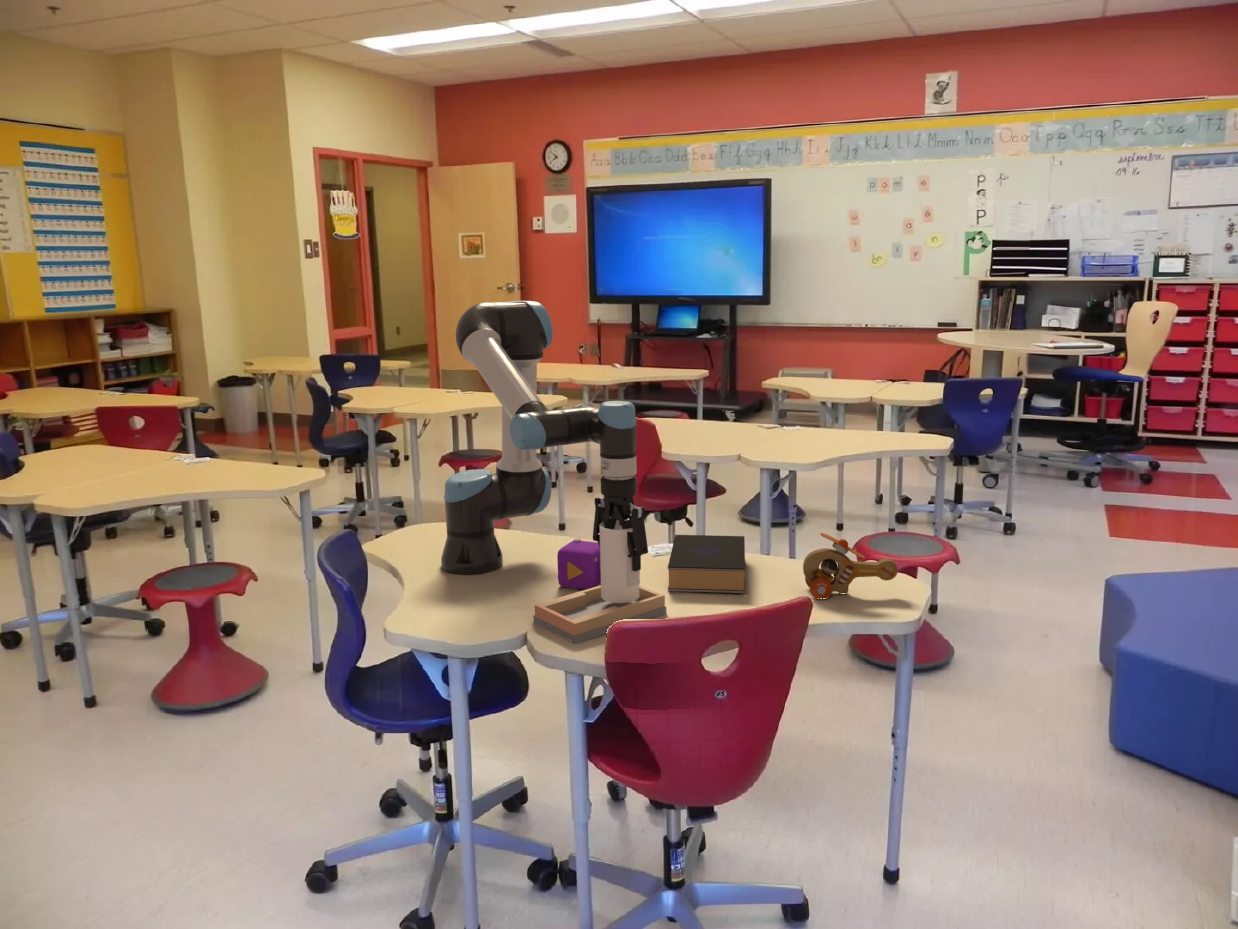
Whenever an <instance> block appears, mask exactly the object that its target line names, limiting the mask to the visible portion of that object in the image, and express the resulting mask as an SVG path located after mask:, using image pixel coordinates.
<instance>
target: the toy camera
mask: <svg viewBox="0 0 1238 929" xmlns="http://www.w3.org/2000/svg"><path fill="white" fill-rule="evenodd" d="M556 558H557V580H558V585H559V586H560V587H563V588H569V589H575V590H576V589H577V590H582V591H583V590H587V589H590V588H594V587H597V586H600V585H601V566H600V546H599V545H598V542H597V541H588V540H582V539H581V538H573V540H572V541H570V542H568V543H567V544H565V545H564V546H562V547H560V548H559V549H558V551H557V557H556Z"/></svg>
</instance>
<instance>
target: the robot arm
mask: <svg viewBox="0 0 1238 929" xmlns="http://www.w3.org/2000/svg"><path fill="white" fill-rule="evenodd" d="M455 328H456V329H455V343H456V345H457V348H458V350H459V352H460V355H461V356H462V357H463V359H464V360H465V361H466V362H467V363H468V364H471V365H474V367H475V368H476V369H477V371H478V373H479V374H480V376H481V377H482V379H483V380H484V381H485V383H486V385H487V386H488V387H489V389H490V390H491V392H492V394H494V396H495V398H496V399H497V400H498V402H499V403H500V405H501V458H500V459H499V460H498V461H497V462H496V464H495V470H496V471H495V473H492V471H491V470H489V469H485V468H477V469H467V470H463V471H460V472H457V473H454V474H452V475H451V476H449V477H448V478H447V479H446V481H445V482H444V495H443V499H444V508H445V522H446V524H445V526H446V540H445V543H444V547H443V550H442V555H441V557H440V558H441V559H440V562H441V568H442V569H443V571H446V572H448V573H452V574H457V575H475V574H482V573H483V574H484V573H488V572H491V571H494V570H497V569H499V568H500V567H502V565H503V562H504V561H503V560H504V559H503V552H502V550H501V548H500V545H499V541H498V540H497V536H496V534H495V522H497V521H500V520H506V519H512V518H518V517H528V516H531V515H533V514H538V513H541V512H543V511H544V510H545V508H547V507H548V505H549V503H550V500H551V497H552V496H551V495H552V480H550V479H551V477H550V476H551V475H550V474H549V472H548V471H547V469H545V468H544V467H543V463H542V461H541V460H540V459H539V458H538V457H537V450H540V449H547V448H552V447H558V446H559V447H560V446H566V445H567V446H568V445H575V444H582V443H595V444H599V456H600V475H601V477H600V493H601V495H602V496H598V497H594V507H595V509H594V511H595V512H594V520H593V531H592V540H593V542H597V543H598V545H599V546H600V524H601V523H602V522H604V528H606V529H613V530H614V527H615V524H616V521H617V520H618V521H619V524H620V526H622V528H623V529H630V528H632V530H633V532H628V531H627V546H628V549H629V553H630V555H627V573H628V586H634V585H637V584H639V585H640V584H641V582H640V581H641V577H640V576H641V572H640V571H641V569H642V561H641V560H642V556H643V555H646V554H648V553H649V548H648V538H647V532H646V525H645V508H644V506H640V507H639V506H636V505H635V504H636V503H635V501H634V497H635V495H636V494H637V490H638V488H637V487H638V486H637V483H638V482H637V477H636V476H635V475H636V474H637V469H638V467H637V422H638V421H637V419H636V408H635V407H636V406H635V405H634V403H632V402H631V401H626V400H623V401H622V400H609V401H604V402H601V403H600V404H599V406H596V405H593V404H589V403H587V404H583V403H582V404H576V405H575V406H573V407H572V408H565V409H556V410H553V409H552V410H549V409H548V408H547V406H546V405H545V404H544V402H543V401H542V400H541V398H540V397H539V396H538V394H537V393H538V388H537V387H538V386H537V385H538V384H537V383H538V382H537V381H538V379H537V378H538V369H537V368H538V367H537V366H538V363H540V362H541V361H542V360H543V358H544V350H546V349H548V348H549V347H550V346H551V345H552V342H553V339H554V330H553V323H552V318H551V316H550V314H549V312H548V310H547V309H546V308H545V306H544V305H543V304H541V303H540V302H539V301H533V300H510V301H509V300H508V301H496V302H494V301H493V302H489V301H488V302H480V303H476V304H474V305H472V306H470V307H469V308H467V309H466V310H465V311H464V313H463V314H462V315H461V316H460V318H459V320H458V322H457V325H456V327H455ZM624 520H626V521H624ZM634 549H635V550H634Z"/></svg>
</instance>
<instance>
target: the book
mask: <svg viewBox="0 0 1238 929" xmlns="http://www.w3.org/2000/svg"><path fill="white" fill-rule="evenodd" d="M745 542H746V541H745V536H744V535H743V536H742V535H709V534H708V535H705V534H701V535H700V534H698V535H697V534H674V538H673V543H672V547H671V551H670V556H669V559H668V560H669V561H668V564H667V570H668V586H667V592H688V593H689V592H691V593H693V592H694V593H721V594H723V593H724V594H745V593H746V592H745V591H746V590H745V588H746V586H745V575H746V547H745V544H746V543H745Z"/></svg>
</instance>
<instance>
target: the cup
mask: <svg viewBox="0 0 1238 929" xmlns="http://www.w3.org/2000/svg"><path fill="white" fill-rule="evenodd" d="M624 521H626V520H624ZM627 531H628V532H633V530H632V528H630V529H623V528H622V526H620V524H619V521H618V520H617V521H616V524H615V527H614V530H613V529H606V528H604V522H602V523H601V524H600V533H599V534H600V566H601V584H600V585H601V598H602V599H603V600H605V601H608V602H612V603H627V602H632V601H635V600H637V599H638V598H639V585H640V584H637V585H634V586H628V573H627V555H630V553H629V549H628V546H627ZM634 550H635V549H634Z"/></svg>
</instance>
